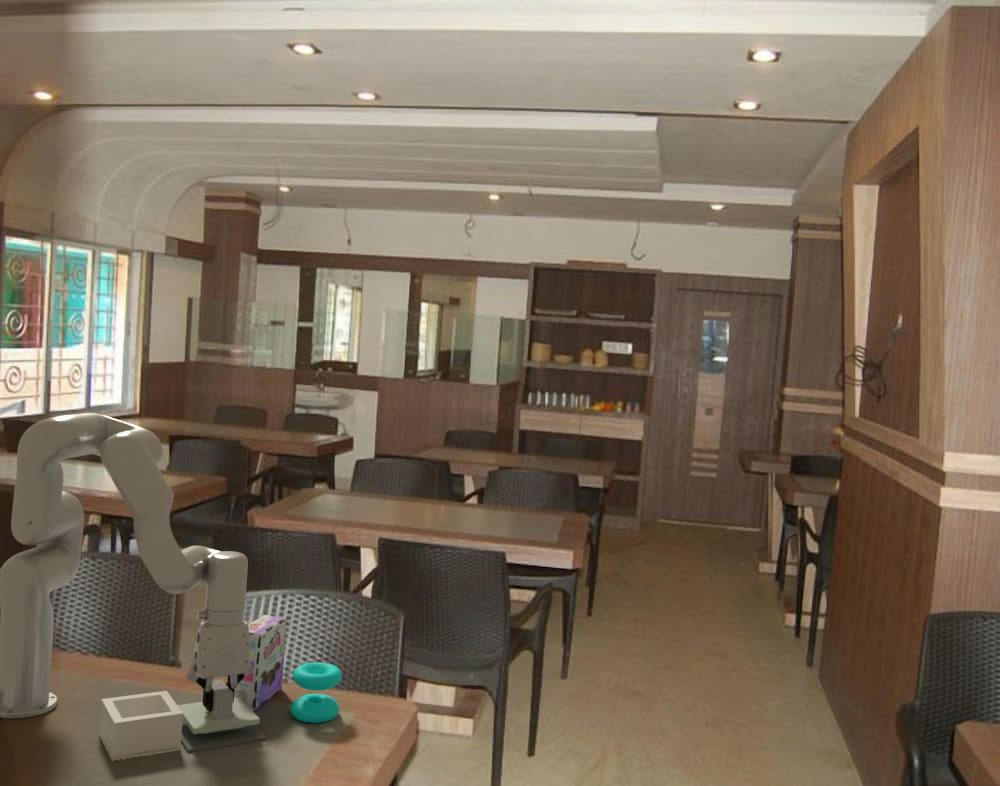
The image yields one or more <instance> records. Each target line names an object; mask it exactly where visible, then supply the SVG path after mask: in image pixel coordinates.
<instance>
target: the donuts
mask: <svg viewBox="0 0 1000 786" xmlns="http://www.w3.org/2000/svg"><path fill="white" fill-rule="evenodd" d="M292 678H293V681H294V683H295V684H296V685H297V686H298V687H300V688H302V689H305V690H309V691H318V692H319V691H327V690H330V689H333V688H335V687H336V686H337V685H339V684H340V682H341V680H342V678H343V674H342V671H341V669H340V668H339V667H338V666H337V665H334V664H332V663H328V662H321V661H319V662H315V661H314V662H307V663H306V662H305V663H302V664H301V665H299V666H297V667H296V668H295V669H294V670H293V674H292ZM339 712H340V704H339V703H338V701H337V700H336V699H335V698H334V697H332V696H330V695H328V694H325V693H307V694H303V695H301V696H298V697H297V698H296V699H295V700H293V701H292V703H291V705H290V713H291V715H292V716H293V717H294V718H295V719H296V720H298V721H301V722H303V723H308V722H310V723H311V724H319V723H320V722H322V723H327V722H329V721H332V720H333V719H335V718H336V717H337V715H338V714H339ZM310 723H309V724H310Z"/></svg>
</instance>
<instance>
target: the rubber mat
mask: <svg viewBox="0 0 1000 786" xmlns="http://www.w3.org/2000/svg"><path fill="white" fill-rule="evenodd" d="M267 738H268V737H267V735H266V734H265V733H264V732H263V731H262V730H261V729H260V727H259V726H258V724H256V725H250V726H244V728H238V729H232V730H226V731H219V732H213V733H206V734H201V733H198V734H193V732H192V731H191V730H190V728H189V727H188V726H187V724H186V723H185V722H184V720H183V719H182V734H181V745H183V748H184V749H185V750H186V752H187V753H193V752H198V751H203V750H211V749H216V748H222V747H223V748H224V747H229V746H235V745H241V744H248V743H254V742H259V741H264V740H267Z"/></svg>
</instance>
